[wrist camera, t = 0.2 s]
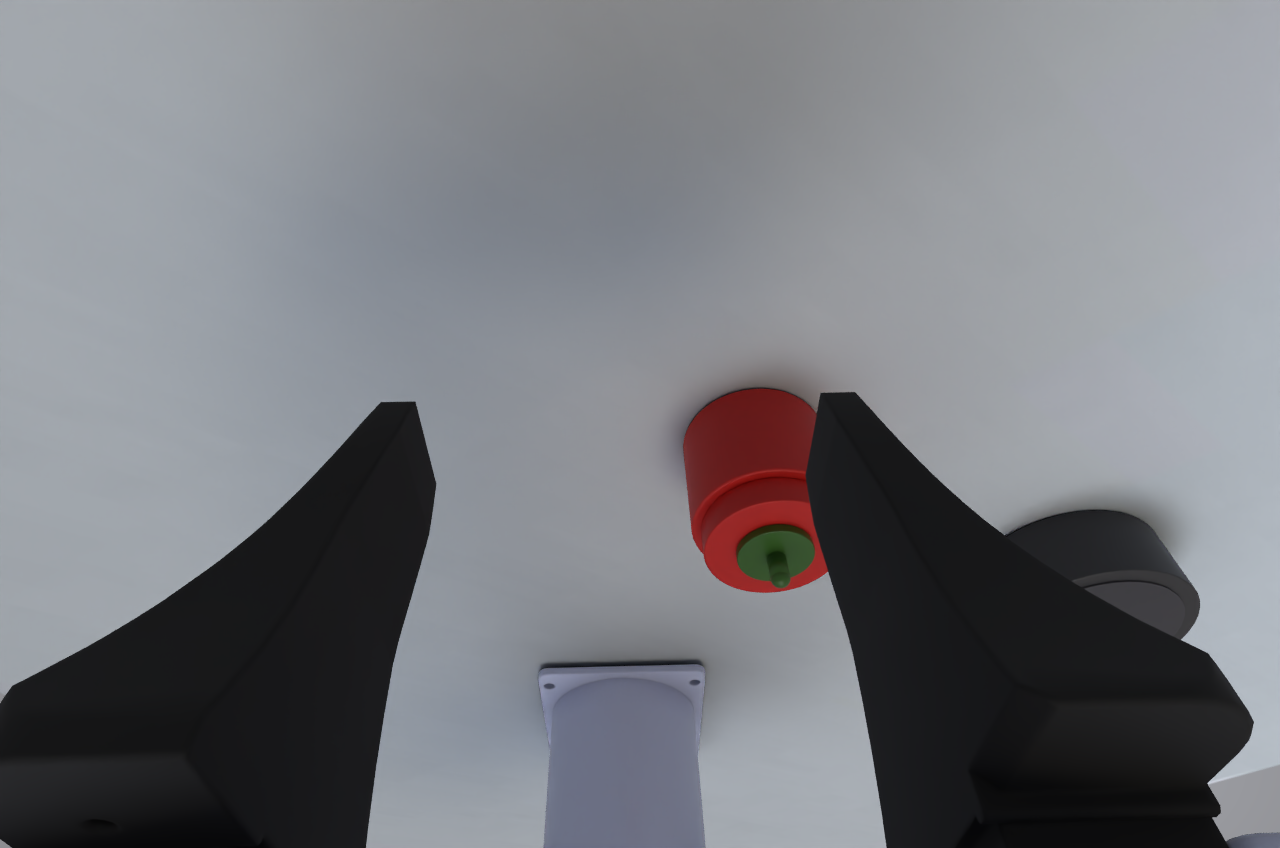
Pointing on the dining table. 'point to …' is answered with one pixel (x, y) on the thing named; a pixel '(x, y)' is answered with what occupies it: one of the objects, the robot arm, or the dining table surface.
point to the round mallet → (1116, 565)
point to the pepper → (753, 490)
